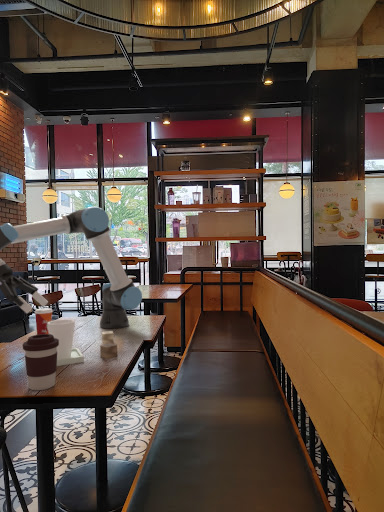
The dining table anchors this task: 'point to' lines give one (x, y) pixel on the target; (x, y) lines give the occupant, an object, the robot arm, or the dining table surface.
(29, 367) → the coffee cup
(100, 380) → the dining table surface
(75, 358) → the tray
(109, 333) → the beech block
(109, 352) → the walnut block
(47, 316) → the paper cup
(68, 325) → the foam cup
